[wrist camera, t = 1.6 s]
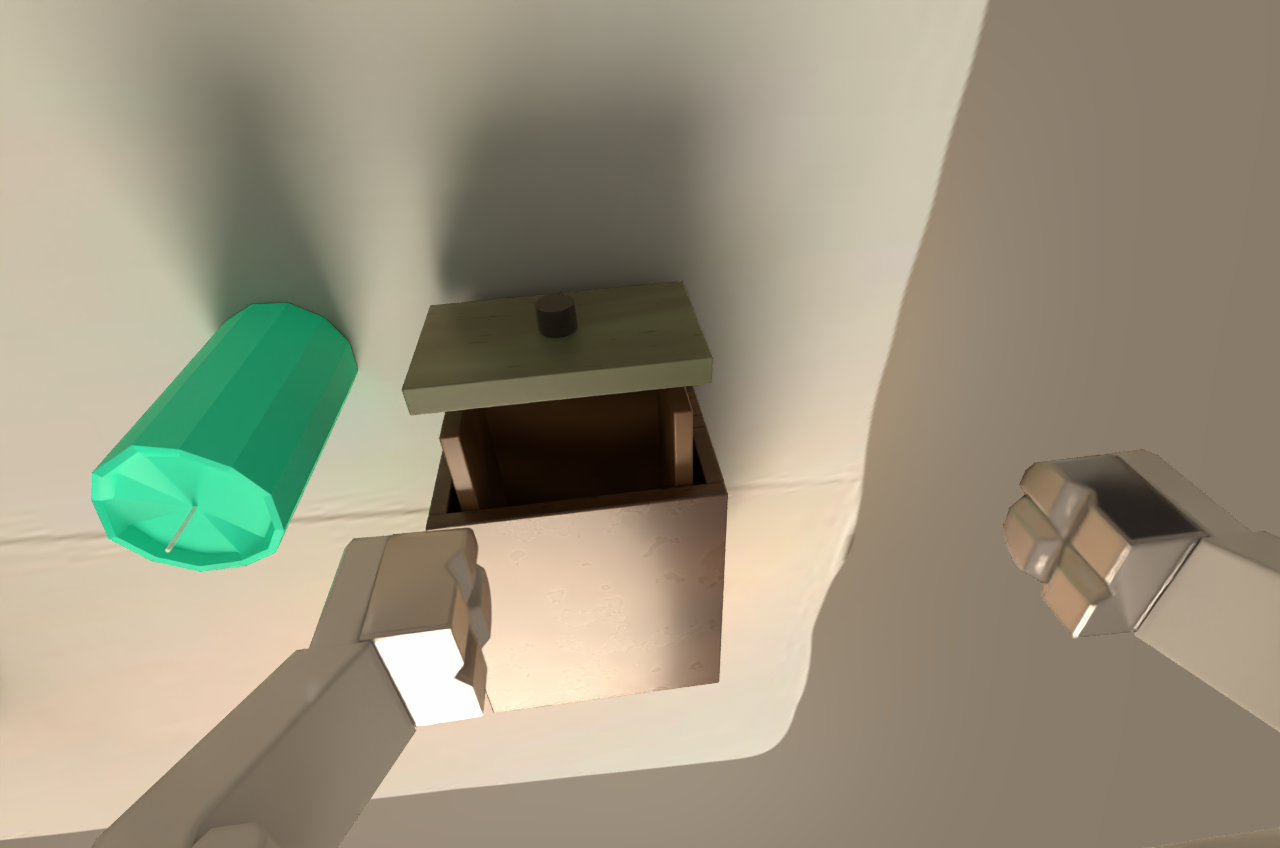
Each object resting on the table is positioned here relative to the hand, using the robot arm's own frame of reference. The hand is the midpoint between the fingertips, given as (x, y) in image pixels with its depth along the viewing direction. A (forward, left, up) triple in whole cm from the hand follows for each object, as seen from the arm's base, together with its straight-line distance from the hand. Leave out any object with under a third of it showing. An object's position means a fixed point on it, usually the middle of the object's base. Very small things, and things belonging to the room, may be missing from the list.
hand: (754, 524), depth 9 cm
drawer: (+12, -3, -20) cm, 24 cm away
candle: (+8, -16, -22) cm, 28 cm away
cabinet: (+19, -3, -21) cm, 29 cm away
